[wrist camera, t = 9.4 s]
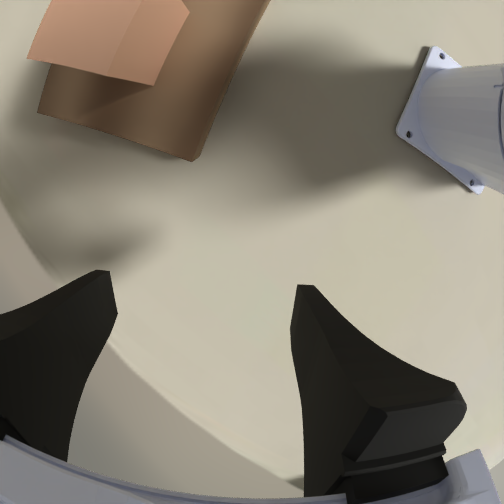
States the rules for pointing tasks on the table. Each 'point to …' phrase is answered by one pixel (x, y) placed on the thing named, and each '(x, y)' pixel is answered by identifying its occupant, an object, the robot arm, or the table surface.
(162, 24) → the terracotta block
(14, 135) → the table surface
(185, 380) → the table surface
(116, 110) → the walnut block
